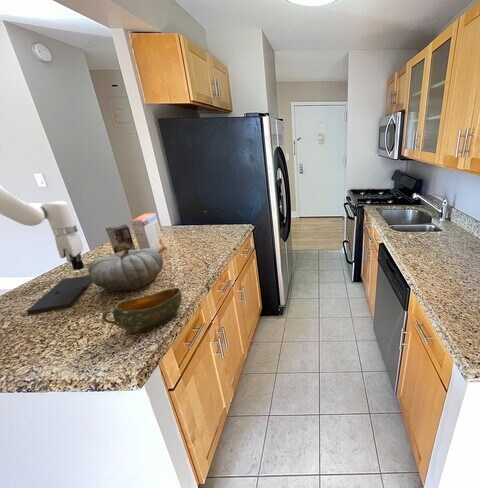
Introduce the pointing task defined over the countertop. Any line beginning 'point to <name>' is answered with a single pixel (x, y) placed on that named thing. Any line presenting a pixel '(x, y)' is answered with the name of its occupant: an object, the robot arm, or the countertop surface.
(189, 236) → the countertop surface
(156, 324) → the green gravy boat
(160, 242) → the cracker box
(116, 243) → the coffee box
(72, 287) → the pad
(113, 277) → the gourd
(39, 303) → the base pad
